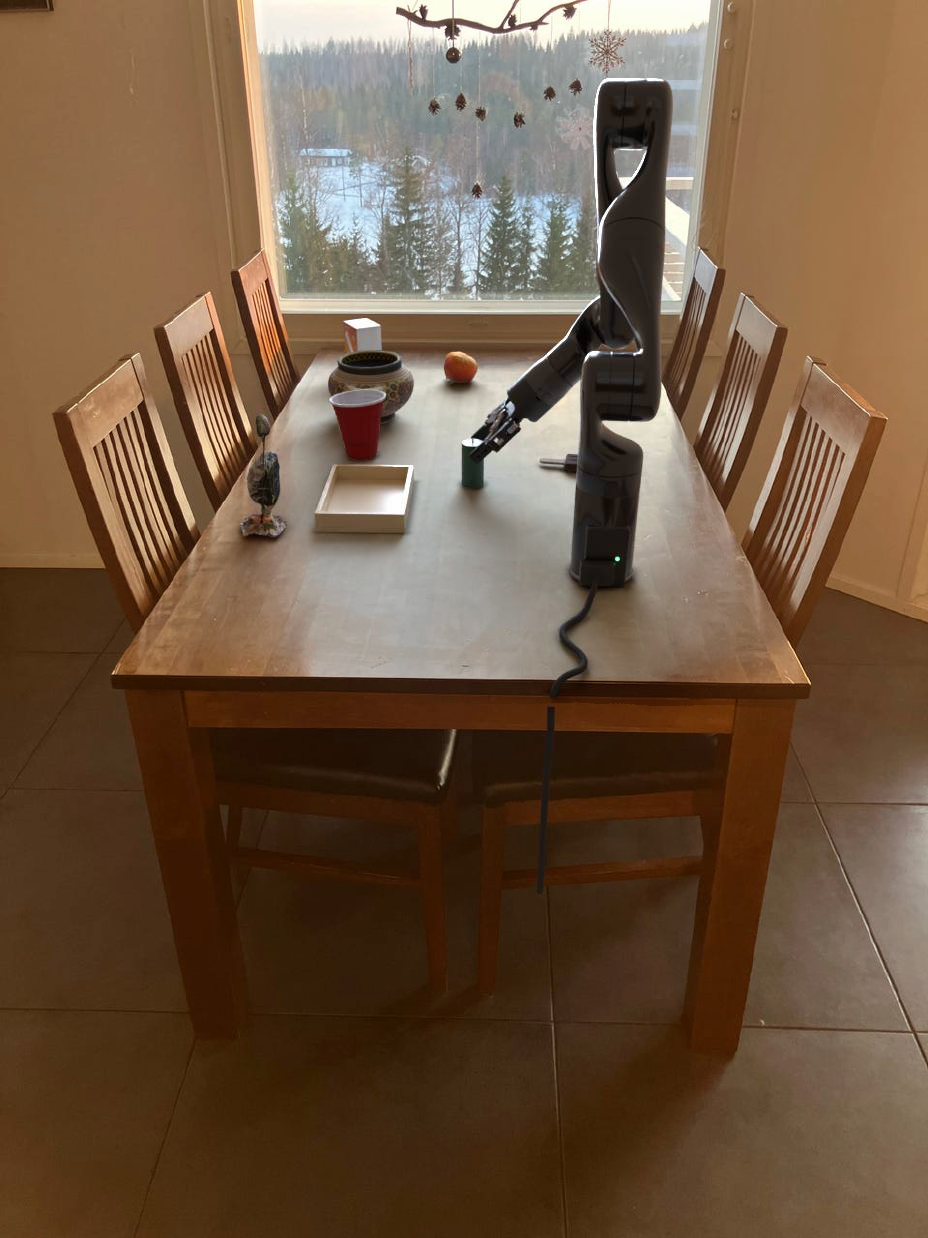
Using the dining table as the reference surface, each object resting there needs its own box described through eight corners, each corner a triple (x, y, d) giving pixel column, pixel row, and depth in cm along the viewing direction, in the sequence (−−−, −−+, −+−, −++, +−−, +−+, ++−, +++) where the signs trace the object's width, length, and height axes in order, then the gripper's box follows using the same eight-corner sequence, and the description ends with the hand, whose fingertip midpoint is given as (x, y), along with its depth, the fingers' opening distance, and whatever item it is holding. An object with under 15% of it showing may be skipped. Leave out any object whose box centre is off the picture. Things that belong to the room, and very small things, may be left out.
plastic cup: (354, 441, 197) (351, 383, 191) (399, 451, 192) (397, 391, 186) (321, 458, 189) (316, 397, 183) (366, 469, 184) (363, 407, 178)
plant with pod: (299, 514, 167) (289, 399, 156) (276, 543, 157) (264, 422, 147) (254, 510, 168) (241, 396, 158) (228, 539, 158) (213, 419, 148)
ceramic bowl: (353, 411, 222) (332, 346, 215) (428, 393, 219) (410, 327, 211) (332, 449, 201) (308, 379, 194) (414, 431, 197) (393, 359, 190)
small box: (346, 375, 236) (342, 320, 230) (370, 371, 239) (367, 317, 233) (359, 384, 230) (356, 328, 224) (383, 380, 233) (381, 324, 226)
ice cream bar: (538, 469, 184) (618, 475, 182) (538, 461, 183) (619, 466, 181) (541, 459, 189) (619, 464, 187) (541, 451, 188) (620, 456, 186)
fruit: (430, 373, 233) (446, 342, 231) (456, 387, 237) (472, 356, 235) (444, 382, 226) (461, 351, 224) (471, 396, 231) (487, 365, 229)
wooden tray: (404, 533, 160) (404, 514, 159) (315, 531, 161) (314, 513, 159) (414, 482, 179) (413, 465, 177) (334, 481, 179) (333, 464, 178)
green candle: (483, 488, 176) (484, 442, 172) (461, 488, 176) (461, 442, 172) (483, 480, 180) (484, 434, 175) (461, 480, 180) (461, 434, 175)
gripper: (524, 361, 174) (459, 423, 180) (526, 385, 161) (457, 451, 168) (552, 391, 176) (488, 450, 182) (557, 417, 164) (487, 480, 170)
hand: (473, 450), depth 175 cm, fingers open, 8 cm apart
